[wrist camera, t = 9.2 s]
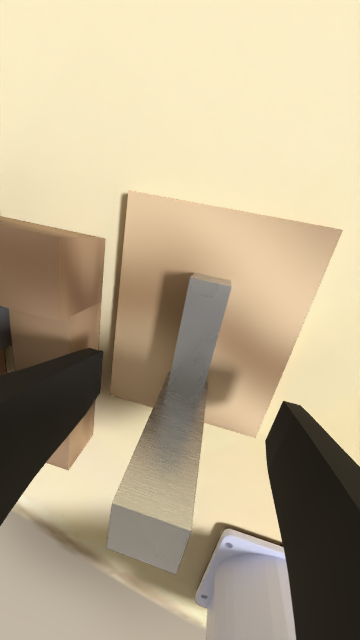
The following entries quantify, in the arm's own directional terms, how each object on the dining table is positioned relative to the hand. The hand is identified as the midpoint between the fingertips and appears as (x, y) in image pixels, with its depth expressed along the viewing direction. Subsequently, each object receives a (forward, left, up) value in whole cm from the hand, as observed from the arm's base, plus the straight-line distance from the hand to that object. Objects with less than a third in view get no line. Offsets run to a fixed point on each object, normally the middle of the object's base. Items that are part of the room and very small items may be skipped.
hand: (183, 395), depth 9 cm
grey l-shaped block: (+1, 0, -2) cm, 2 cm away
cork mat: (+2, 0, -3) cm, 3 cm away
